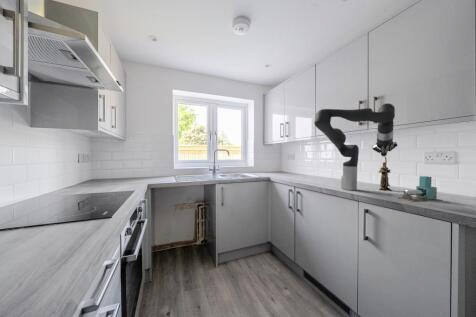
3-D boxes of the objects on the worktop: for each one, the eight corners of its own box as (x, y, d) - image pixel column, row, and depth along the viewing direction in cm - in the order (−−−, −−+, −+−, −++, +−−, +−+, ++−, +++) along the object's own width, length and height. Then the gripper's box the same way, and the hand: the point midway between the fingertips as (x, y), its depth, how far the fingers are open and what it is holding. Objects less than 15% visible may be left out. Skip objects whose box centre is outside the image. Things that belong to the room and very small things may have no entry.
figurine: (376, 189, 143) (377, 156, 143) (384, 188, 147) (385, 156, 147) (385, 191, 138) (386, 156, 137) (394, 190, 141) (395, 156, 141)
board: (411, 201, 106) (411, 200, 106) (397, 198, 114) (397, 197, 114) (442, 201, 108) (442, 199, 108) (426, 197, 116) (426, 196, 116)
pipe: (409, 199, 108) (409, 187, 108) (402, 198, 112) (402, 186, 112) (436, 199, 110) (437, 187, 110) (429, 197, 114) (429, 186, 114)
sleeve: (427, 199, 108) (428, 177, 108) (416, 196, 114) (416, 175, 114) (434, 199, 108) (434, 177, 108) (421, 196, 115) (422, 175, 115)
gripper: (373, 142, 112) (373, 161, 122) (401, 137, 106) (398, 158, 116) (369, 134, 116) (369, 153, 127) (396, 128, 111) (394, 149, 121)
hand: (383, 155), depth 122 cm, fingers closed
